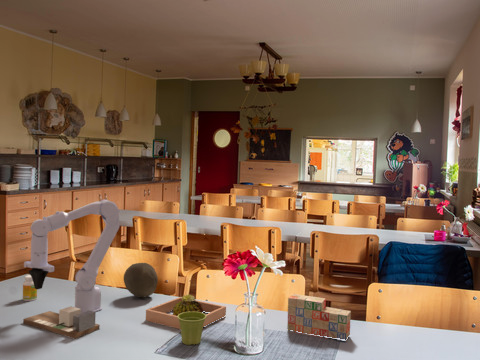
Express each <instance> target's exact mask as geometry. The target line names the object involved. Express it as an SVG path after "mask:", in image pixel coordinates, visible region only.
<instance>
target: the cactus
mask: <svg viewBox="0 0 480 360" xmlns="http://www.w3.org/2000/svg"><path fill="white" fill-rule="evenodd" d="M181 297H182V298H181V299H182V301H180V302H178V303H176V305H175V306H174V308H173V311H172V314H171V315H175V316H178V315H179V314H180V313H184V312H201V313H202V312H203V310H202V307H201V304H200V303H198V302H197V301H198V300H197V301H195V300H196V297H195V296H194V295H191V294H185V295H184V294H183V295H182V296H181ZM204 314H205V315H206V313H204Z"/></svg>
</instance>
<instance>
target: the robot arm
mask: <svg viewBox="0 0 480 360" xmlns="http://www.w3.org/2000/svg"><path fill="white" fill-rule="evenodd" d="M118 207H119V206H118V205H117V203H115V202H114V201H110V200H108V199H105V198H103V199H101V200H98V201H94V202H90V203H88V204H86V205H83V206H81V207H79V208H76V209H74V210H73V209H72V210H71V211H68V212H65V211H64V210H63V211H62V210H61V211H59V210H56V211H55V213H53V214H51V215H47V216H42V219H40V218H37V219H35V220H34V221H33V222H32V223H31V226H30V231H31V232H32V233H31V240H30V260H28V261H23V267H24V268H30V269H29V270H28V274H29V275H31V277H32V279H33V283H34V287H35V289H37V290H41V289H43V285H44V282H45V279H46V277H47V275H48V274H49V273H53V272H55V266H54V265H52V264H49V263H48V255H49V254H48V252H49V249H48V248H49V245H48V244H49V240H48V234H49V232H54V231H56V230H59V229H62V228H64V227H67V226H68V225H69V224H70V222H71V221H74V220H76V219H80V218H83V217H85V216H88V215H96V216H101V217H102V220H103V222H104V224H105V225H104V228H103V230H102V232H101V234H100V236H99V238H98V239H97V242H96V243H95V245H94V247H93V250H92V251H91V254H90V255H89V256H88V258H87V260H86V262H85V263H84V264H83V265H82V267H81V268H80V269H79V270H78V271H77V272H76V274H75V276H74V279H75V282H76V286H75V287H74V288H75V289H74V291H75V292H74V307H75V308H79V309H81V313H83V312H86V311H89V310H90V311H94V312H98V311H102V310H103V308H102V307H101V305H102V304H101V303H102V292H101V289H100V288H99V287H98V286H96V282H97V281H96V280H97V276H98V274H99V269H100V266H101V264H102V262H103V260H104V258H105V256H106V254H107V252H108V250H109V248H110V246H111V245H112V242H113V241H114V239H115V237H116V235H117V232H118V231H119V229H120V226H121V225H120V209H119V208H118Z"/></svg>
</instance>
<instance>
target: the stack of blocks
mask: <svg viewBox="0 0 480 360" xmlns="http://www.w3.org/2000/svg"><path fill="white" fill-rule="evenodd" d="M326 303H327V299H326V298H324V297H319V296H312V295H311V296H309V295H303V294H297V293H293V294H291V295H290V296H289V297H288V298H287V328H286V330H287V329H288V330H293V331H298V332H302V333H307V334H314V335H320V336H327V337H332V338H340V339H345V340H346V339H347V337H348V336H349V335H351V316H352V311H351V310H345V309H342V308H335V307H329V306H326V305H327V304H326Z"/></svg>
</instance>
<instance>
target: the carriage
mask: <svg viewBox="0 0 480 360" xmlns="http://www.w3.org/2000/svg"><path fill="white" fill-rule="evenodd" d="M80 313H81V309H79V308H75V306H67V307H64V308H62V309H59V311H58V314H59V324H58V325H56V326H59V325H65V326H72V325H73V316H74V315H77V314H80Z"/></svg>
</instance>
